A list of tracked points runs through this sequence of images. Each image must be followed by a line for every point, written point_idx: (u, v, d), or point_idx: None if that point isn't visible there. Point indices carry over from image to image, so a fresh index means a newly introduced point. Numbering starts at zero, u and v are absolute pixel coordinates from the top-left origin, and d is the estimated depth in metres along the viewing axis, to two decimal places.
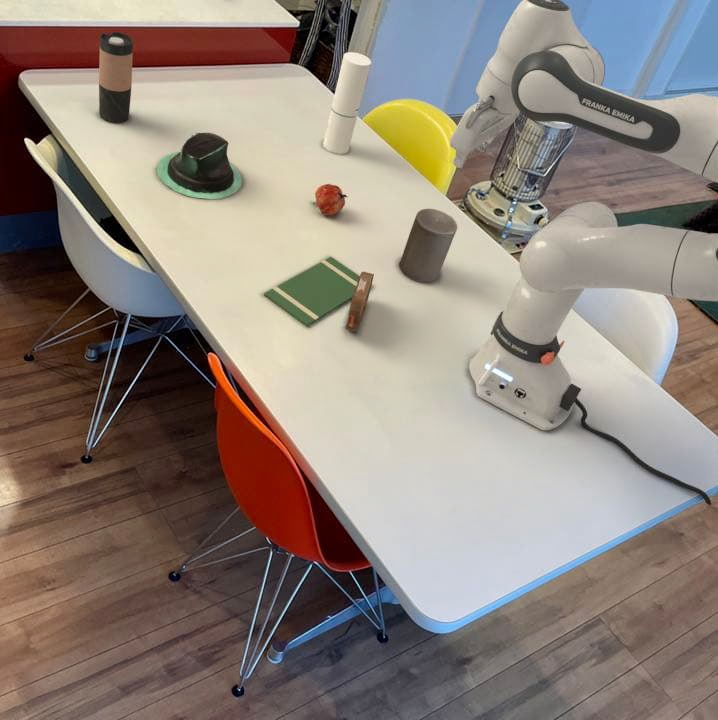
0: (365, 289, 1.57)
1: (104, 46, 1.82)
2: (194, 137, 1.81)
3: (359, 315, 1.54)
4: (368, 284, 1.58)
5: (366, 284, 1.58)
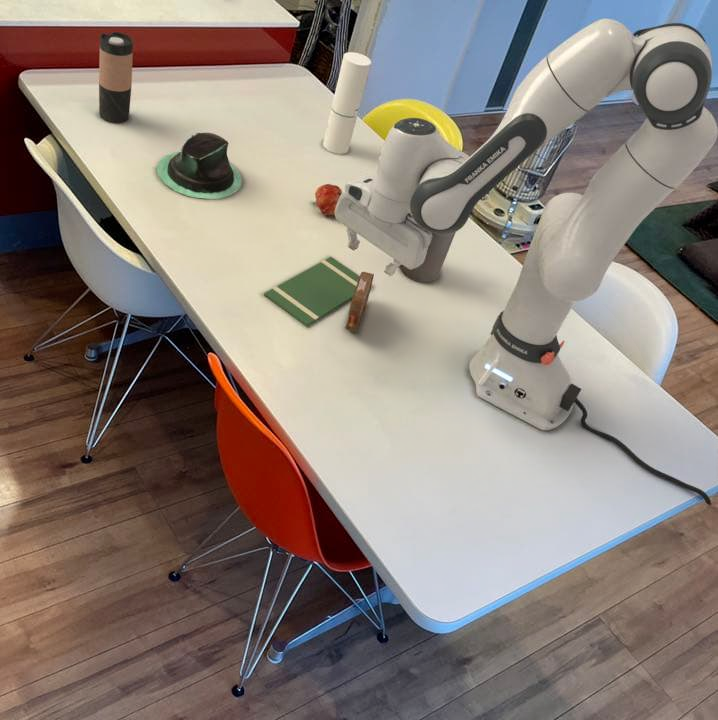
0: (365, 289, 1.57)
1: (104, 46, 1.82)
2: (194, 137, 1.81)
3: (359, 315, 1.54)
4: (368, 284, 1.58)
5: (366, 284, 1.58)
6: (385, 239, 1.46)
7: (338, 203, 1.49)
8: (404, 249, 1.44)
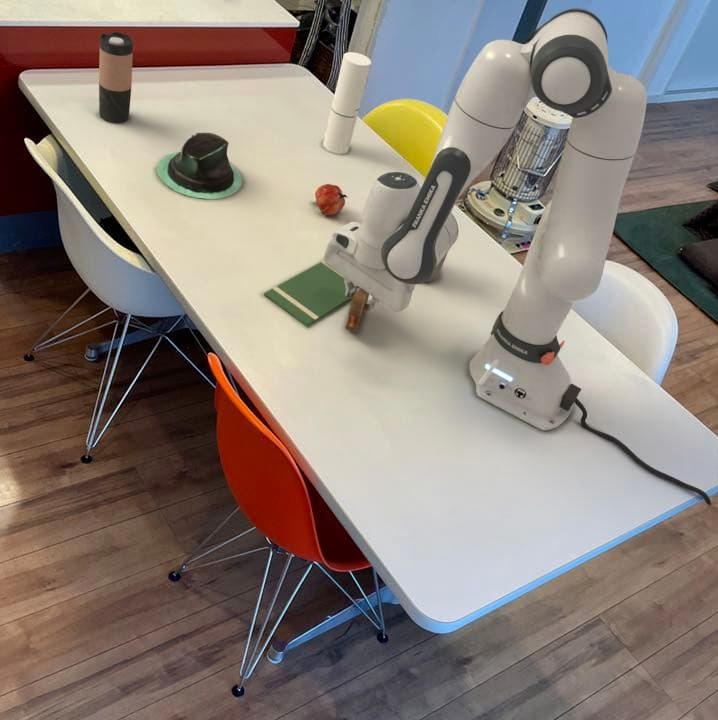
0: None
1: (104, 46, 1.82)
2: (194, 137, 1.81)
3: (359, 315, 1.54)
4: None
5: None
6: (371, 283, 1.53)
7: (327, 249, 1.56)
8: (390, 293, 1.52)
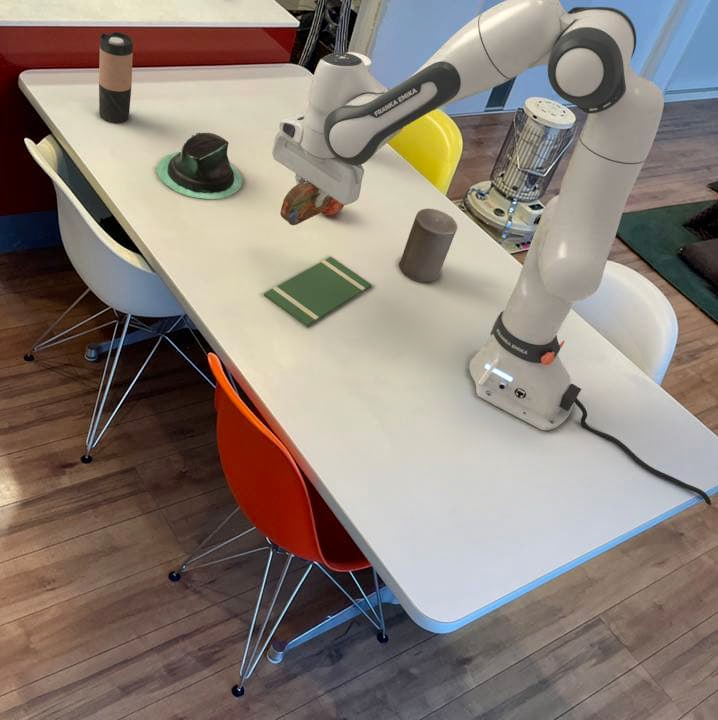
0: (313, 185, 1.52)
1: (104, 46, 1.82)
2: (194, 137, 1.81)
3: (292, 203, 1.50)
4: None
5: None
6: (319, 175, 1.49)
7: (275, 142, 1.52)
8: (338, 184, 1.47)
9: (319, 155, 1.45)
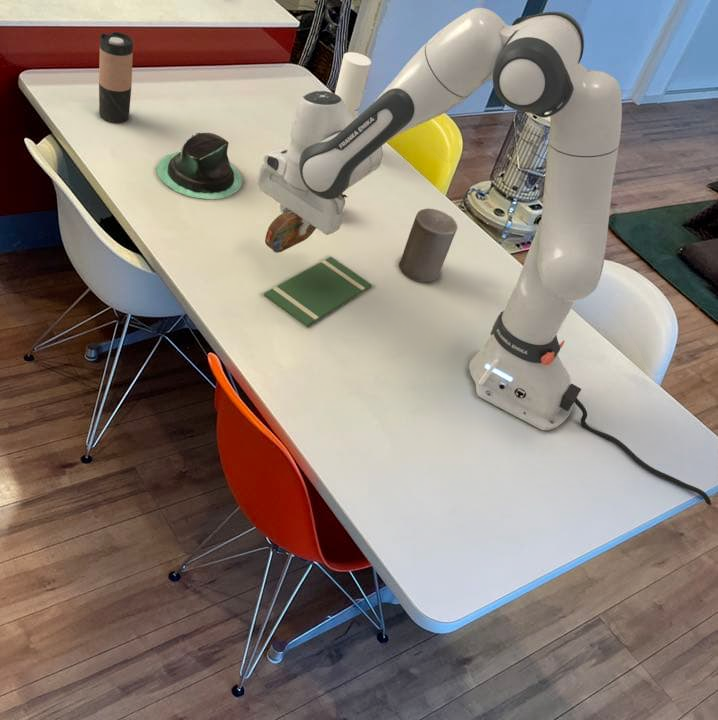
0: None
1: (104, 46, 1.82)
2: (194, 137, 1.81)
3: (276, 232, 1.56)
4: None
5: None
6: (302, 206, 1.56)
7: (260, 174, 1.58)
8: (320, 215, 1.54)
9: (301, 187, 1.51)
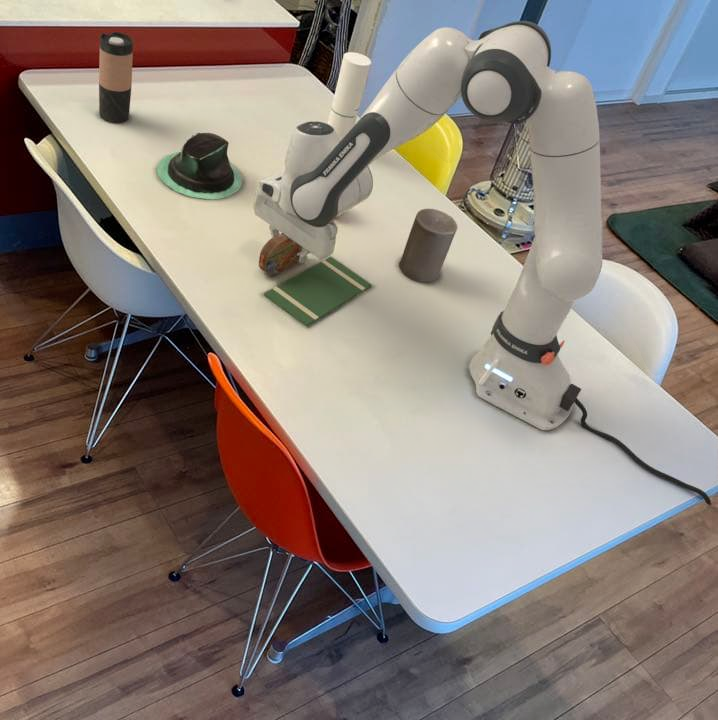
0: (287, 237, 1.63)
1: (104, 46, 1.82)
2: (194, 137, 1.81)
3: (268, 256, 1.60)
4: None
5: None
6: (296, 231, 1.60)
7: (255, 200, 1.62)
8: (314, 240, 1.58)
9: (295, 214, 1.55)
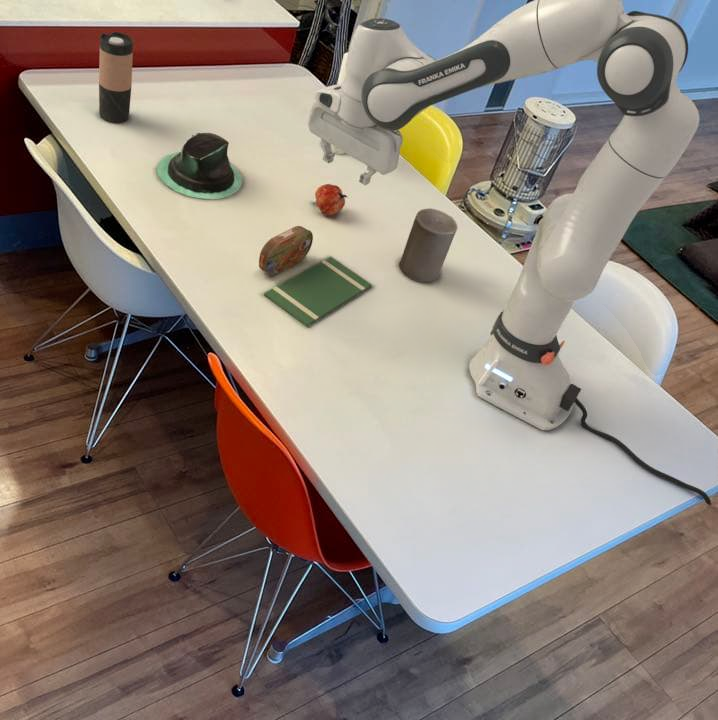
0: (287, 237, 1.63)
1: (104, 46, 1.82)
2: (194, 137, 1.81)
3: (268, 256, 1.60)
4: (293, 234, 1.64)
5: (292, 234, 1.64)
6: (357, 145, 1.48)
7: (310, 114, 1.51)
8: (376, 154, 1.46)
9: (357, 124, 1.43)
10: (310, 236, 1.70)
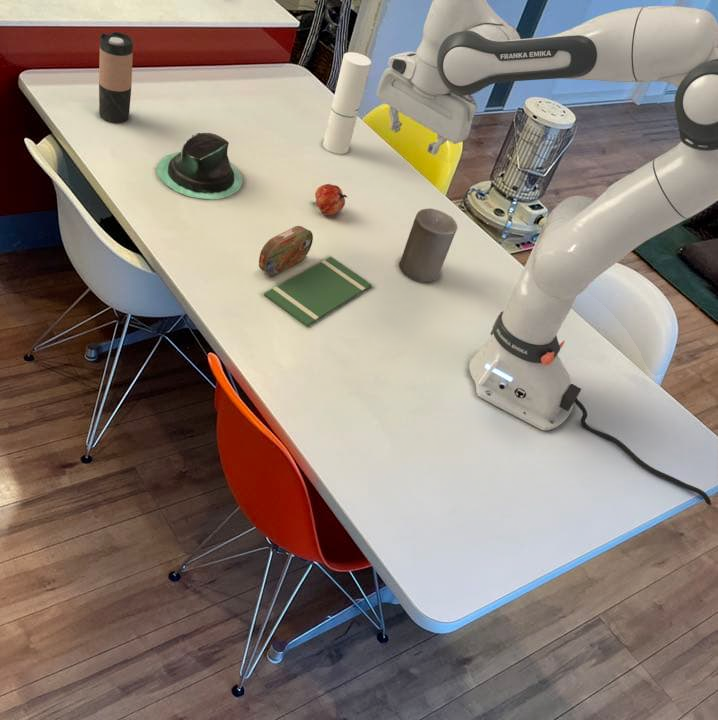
0: (287, 237, 1.63)
1: (104, 46, 1.82)
2: (194, 137, 1.81)
3: (268, 256, 1.60)
4: (293, 234, 1.64)
5: (292, 234, 1.64)
6: (428, 114, 1.46)
7: (381, 81, 1.49)
8: (449, 122, 1.44)
9: (432, 91, 1.42)
10: (310, 236, 1.70)
